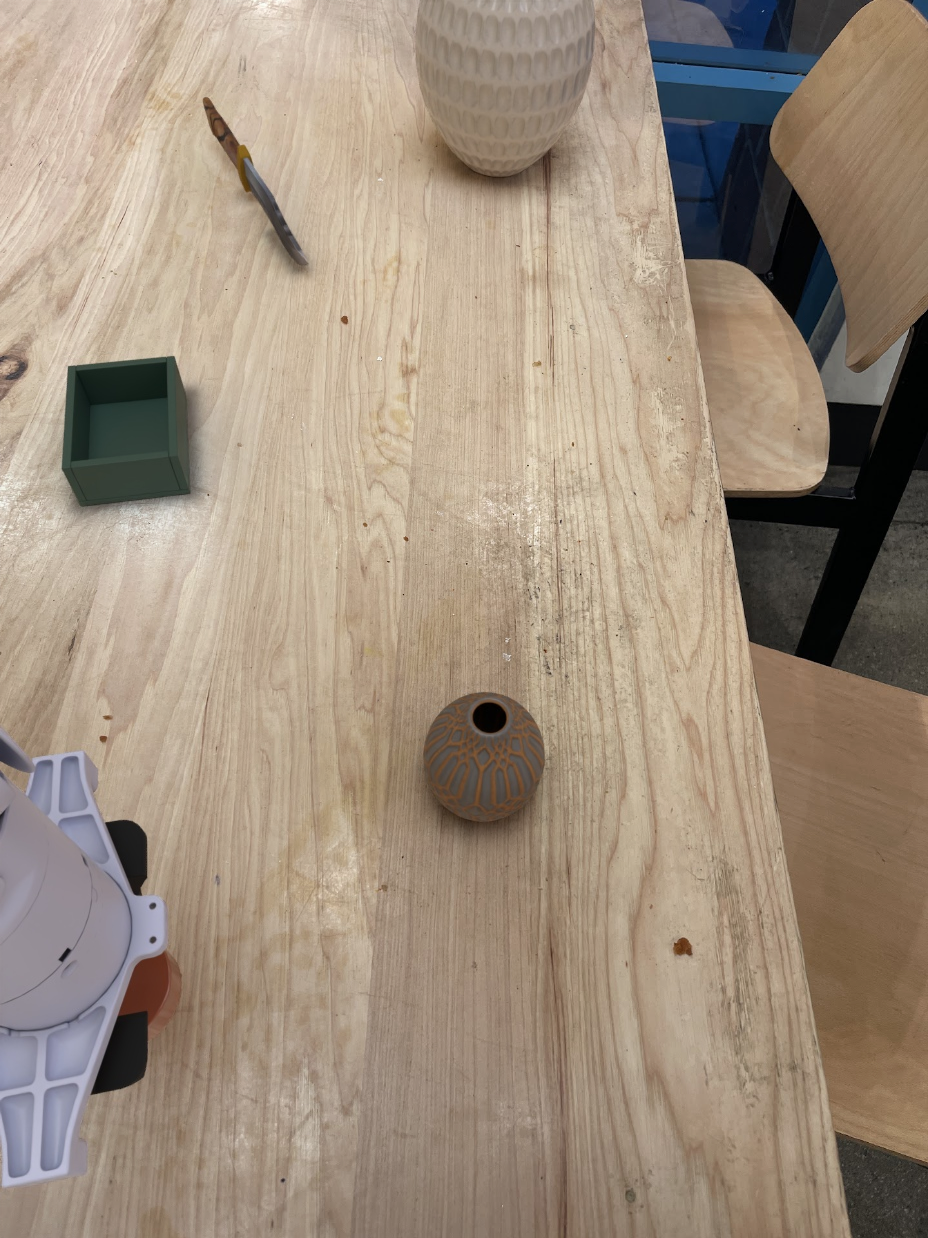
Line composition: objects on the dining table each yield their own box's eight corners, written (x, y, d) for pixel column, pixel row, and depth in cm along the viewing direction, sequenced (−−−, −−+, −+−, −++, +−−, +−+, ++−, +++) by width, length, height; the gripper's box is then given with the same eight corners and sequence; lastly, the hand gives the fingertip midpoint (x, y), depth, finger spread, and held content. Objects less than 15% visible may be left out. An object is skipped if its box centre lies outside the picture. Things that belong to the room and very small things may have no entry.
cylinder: (75, 1059, 39) (58, 1053, 37) (79, 950, 41) (63, 940, 39) (183, 1038, 39) (172, 1031, 37) (181, 932, 42) (170, 921, 40)
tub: (80, 506, 63) (61, 468, 60) (84, 405, 68) (67, 365, 65) (190, 493, 64) (177, 455, 61) (186, 395, 70) (174, 355, 66)
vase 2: (407, 748, 54) (405, 680, 47) (511, 714, 56) (525, 643, 48) (446, 852, 51) (450, 797, 43) (555, 813, 52) (577, 753, 45)
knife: (319, 285, 77) (313, 234, 73) (304, 290, 77) (297, 238, 73) (220, 142, 88) (210, 90, 84) (207, 145, 88) (196, 93, 84)
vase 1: (415, 112, 93) (413, -158, 74) (567, 115, 94) (604, -151, 75) (416, 204, 84) (415, -76, 65) (585, 206, 85) (631, -69, 66)
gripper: (128, 1150, 24) (221, 1158, 36) (132, 686, 32) (208, 816, 43) (-149, 1208, 23) (38, 1197, 35) (-78, 715, 31) (57, 841, 42)
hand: (121, 988), depth 39 cm, fingers closed on cylinder, 4 cm apart
